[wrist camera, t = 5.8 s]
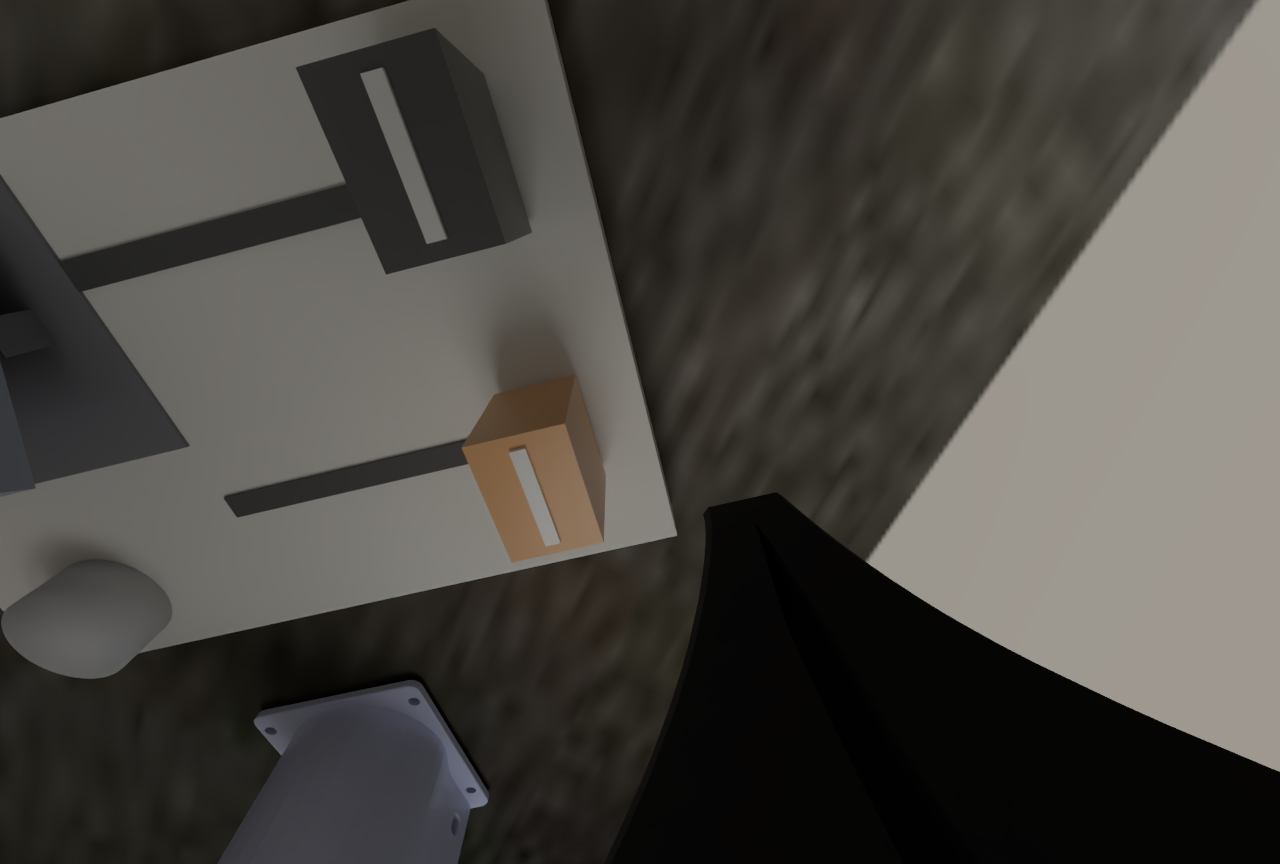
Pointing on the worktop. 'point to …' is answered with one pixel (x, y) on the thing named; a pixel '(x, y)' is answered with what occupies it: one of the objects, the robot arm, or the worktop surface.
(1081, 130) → the worktop surface
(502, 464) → the orange fader knob
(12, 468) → the rocker
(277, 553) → the panel
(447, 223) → the black fader knob
